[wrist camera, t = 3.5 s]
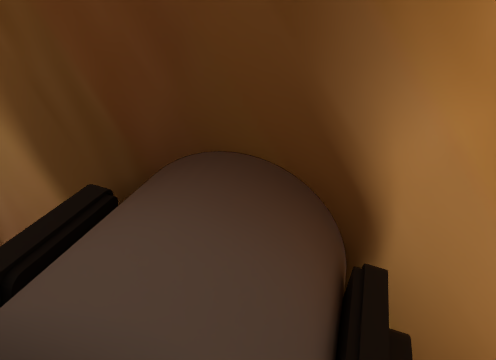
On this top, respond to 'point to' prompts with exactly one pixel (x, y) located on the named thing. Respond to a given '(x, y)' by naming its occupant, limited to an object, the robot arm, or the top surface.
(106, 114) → the top surface
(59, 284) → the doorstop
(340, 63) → the top surface
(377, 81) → the top surface
